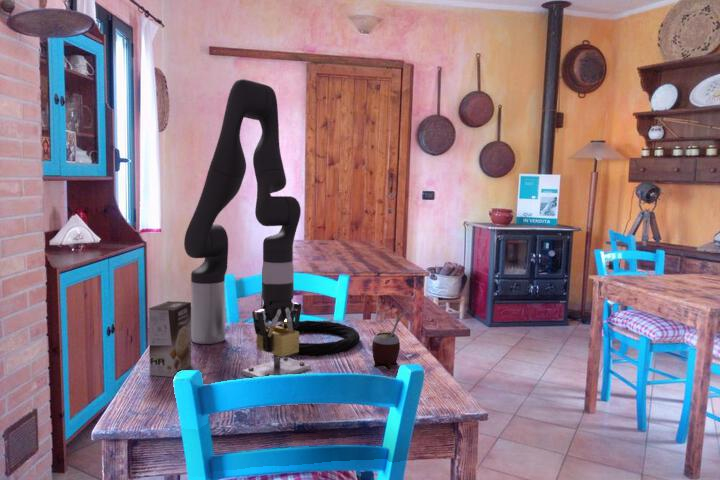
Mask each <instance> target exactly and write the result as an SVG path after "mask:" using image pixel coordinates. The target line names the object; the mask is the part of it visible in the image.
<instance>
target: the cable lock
mask: <svg viewBox="0 0 720 480" xmlns="http://www.w3.org/2000/svg"><path fill="white" fill-rule="evenodd" d="M276 326H280V327H282V324H277V325H276ZM293 330H295V331H299V334H300V333H324V332H326V334H332V333H333V334H334V335H336V334H337V336H339V335H340V336H339V337H344V338H343V339H339V340H336V341H331V342H330V341H328V342H320V343H316V342H314V343H312V342H299V352H297V353H293V354H290V355H287V356H284V357H288V358H289V356H290V358H291V357H294V358H295V357H325V356H334V355H339V354H342V353H347V352H349V351H351V350H354V348H355V347H357V346H358V345H359V343H360V340H361V339H360V338H361V337H360V333H359V332H358V331H357V330H355V328H353V327H351V326H348V325H345V324H342V323H339V322H333V321H323V320H322V321H318V320H317V321H316V320H303V321H302V320H299V326H298V327H297V328H296V327H295V328H294V329H293ZM284 357H281V356H280V358H284Z"/></svg>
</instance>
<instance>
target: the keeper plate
mask: <svg viewBox="0 0 720 480" xmlns="http://www.w3.org/2000/svg"><path fill="white" fill-rule="evenodd" d="M308 370H311V364H309V363H306V362H303V361H300V360H297V359H294V358H291V357H289V356H288V357H283V358H280V356H278V355H274V354H273V360H271V361H266V362H264V363H260V364H258V365H254V366H251V367H248V368H244V369H241V373H242V375H243V376H246V377H248V378H251V377H258V376H269V375H281V374H293V375H295V374H294V373H296V374H299V373H302V372H305V371H308Z"/></svg>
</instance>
